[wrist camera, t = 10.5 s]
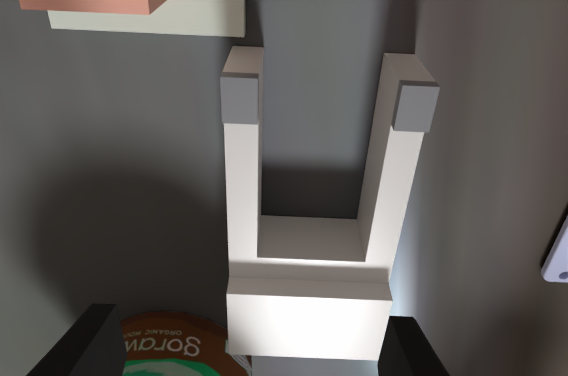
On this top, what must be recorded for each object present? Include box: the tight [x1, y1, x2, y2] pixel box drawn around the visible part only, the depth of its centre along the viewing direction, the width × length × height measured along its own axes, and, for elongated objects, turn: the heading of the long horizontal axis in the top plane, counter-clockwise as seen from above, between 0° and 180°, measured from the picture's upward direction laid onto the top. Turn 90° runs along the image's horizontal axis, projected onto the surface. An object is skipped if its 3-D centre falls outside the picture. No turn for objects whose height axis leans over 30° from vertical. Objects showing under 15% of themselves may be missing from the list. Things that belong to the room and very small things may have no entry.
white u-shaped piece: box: [220, 46, 440, 360], centre depth 19 cm, size 7×13×4 cm, turn 178°
